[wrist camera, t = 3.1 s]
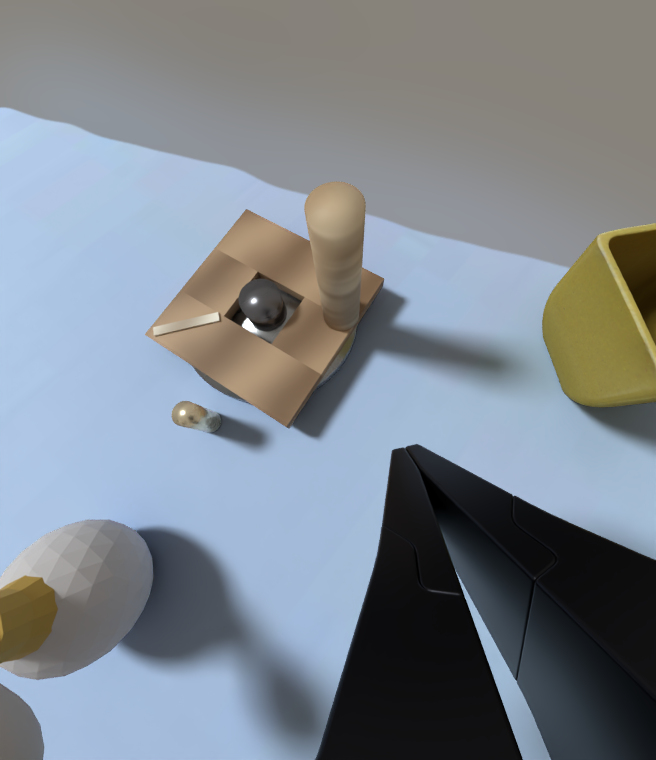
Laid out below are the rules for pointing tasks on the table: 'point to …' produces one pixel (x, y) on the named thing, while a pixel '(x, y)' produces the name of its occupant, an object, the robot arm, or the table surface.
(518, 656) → the robot arm
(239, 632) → the table surface
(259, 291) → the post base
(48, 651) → the perfume bottle
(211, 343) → the flange plate
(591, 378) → the flower pot
